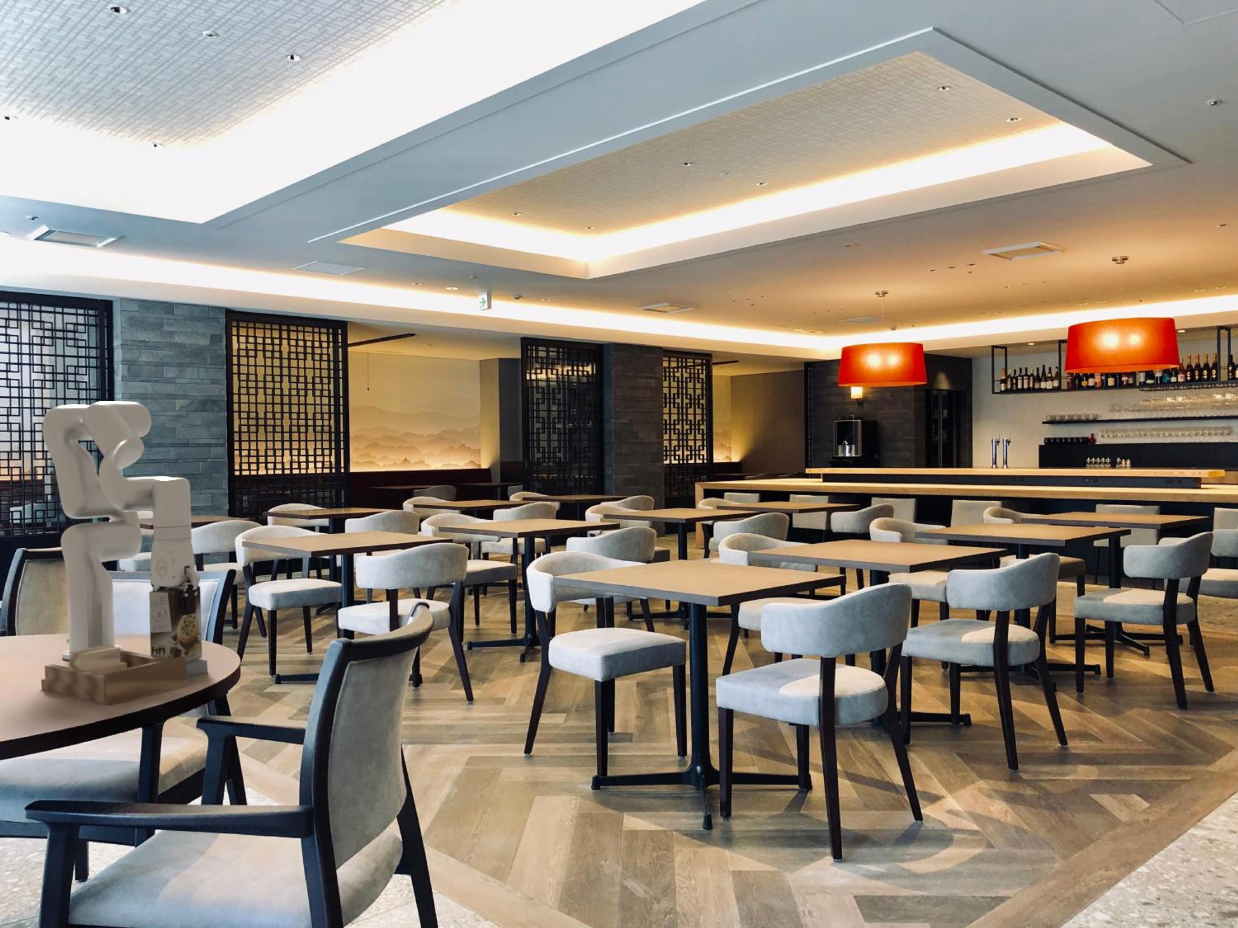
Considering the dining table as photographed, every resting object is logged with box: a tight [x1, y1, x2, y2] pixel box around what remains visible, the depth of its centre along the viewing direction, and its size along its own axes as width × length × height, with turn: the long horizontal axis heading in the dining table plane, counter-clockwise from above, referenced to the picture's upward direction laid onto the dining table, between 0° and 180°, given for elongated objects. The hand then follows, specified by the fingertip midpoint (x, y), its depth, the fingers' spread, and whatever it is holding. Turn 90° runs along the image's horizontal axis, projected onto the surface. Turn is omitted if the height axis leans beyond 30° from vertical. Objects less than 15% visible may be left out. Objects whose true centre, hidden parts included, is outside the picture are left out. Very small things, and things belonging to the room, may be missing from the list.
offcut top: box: [69, 645, 120, 671], centre depth 204 cm, size 5×8×4 cm, turn 142°
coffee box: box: [148, 585, 203, 663], centre depth 212 cm, size 9×6×16 cm
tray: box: [40, 649, 188, 706], centre depth 200 cm, size 25×16×6 cm, turn 57°
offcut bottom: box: [87, 662, 127, 675], centre depth 204 cm, size 6×10×4 cm, turn 148°
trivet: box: [186, 658, 208, 677], centre depth 212 cm, size 10×8×2 cm
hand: (175, 612), depth 212 cm, fingers open, 9 cm apart
